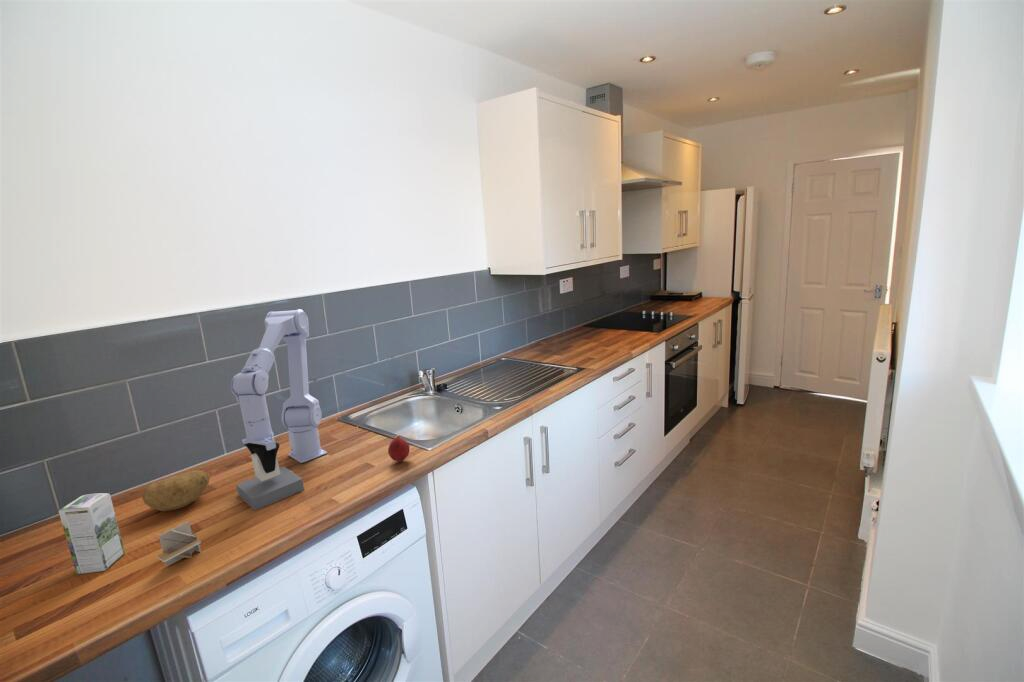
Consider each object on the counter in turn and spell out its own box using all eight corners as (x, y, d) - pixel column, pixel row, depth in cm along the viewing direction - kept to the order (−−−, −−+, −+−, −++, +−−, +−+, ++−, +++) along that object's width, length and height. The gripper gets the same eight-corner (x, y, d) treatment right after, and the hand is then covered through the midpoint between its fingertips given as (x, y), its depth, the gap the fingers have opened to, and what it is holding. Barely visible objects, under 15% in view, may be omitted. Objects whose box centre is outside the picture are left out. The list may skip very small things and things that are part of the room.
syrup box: (97, 556, 101) (79, 494, 98) (127, 553, 101) (109, 491, 98) (76, 575, 95) (55, 510, 92) (107, 571, 96) (87, 506, 93)
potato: (219, 499, 121) (212, 470, 120) (152, 525, 112) (144, 494, 110) (207, 487, 128) (201, 460, 126) (143, 511, 118) (135, 482, 116)
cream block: (255, 476, 122) (250, 454, 120) (273, 469, 125) (269, 448, 124) (261, 481, 119) (257, 459, 117) (280, 474, 122) (276, 452, 120)
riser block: (238, 495, 123) (236, 484, 122) (285, 476, 131) (283, 466, 130) (254, 510, 114) (252, 499, 114) (304, 489, 123) (302, 478, 122)
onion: (405, 467, 131) (402, 440, 129) (386, 466, 132) (382, 439, 130) (414, 457, 136) (410, 431, 135) (395, 457, 137) (392, 431, 136)
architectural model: (205, 556, 99) (197, 524, 97) (168, 577, 93) (159, 543, 92) (197, 551, 101) (189, 520, 99) (160, 572, 95) (151, 539, 93)
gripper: (229, 418, 121) (240, 467, 124) (249, 430, 111) (260, 483, 114) (259, 409, 126) (268, 457, 128) (280, 420, 116) (290, 471, 118)
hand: (266, 468), depth 121 cm, fingers closed on cream block, 4 cm apart
